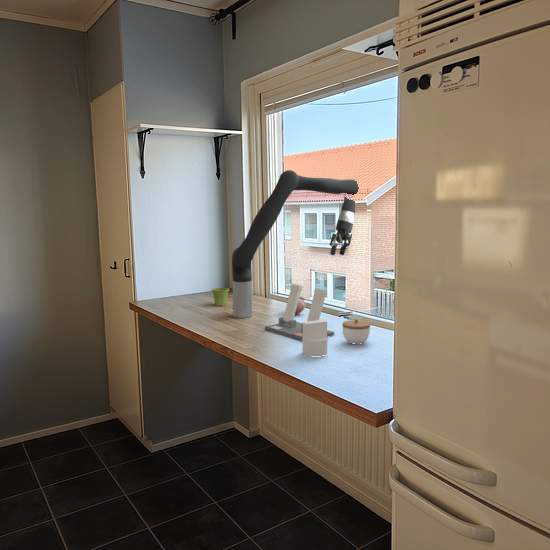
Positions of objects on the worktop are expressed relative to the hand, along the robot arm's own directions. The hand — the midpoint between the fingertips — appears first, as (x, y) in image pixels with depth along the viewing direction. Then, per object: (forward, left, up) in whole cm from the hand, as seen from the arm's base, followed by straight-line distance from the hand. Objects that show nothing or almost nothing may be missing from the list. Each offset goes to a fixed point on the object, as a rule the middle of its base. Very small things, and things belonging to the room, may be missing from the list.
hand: (336, 254), depth 246 cm
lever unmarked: (-25, -20, -27) cm, 42 cm away
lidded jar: (+1, -44, -30) cm, 53 cm away
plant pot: (-56, +33, -30) cm, 72 cm away
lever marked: (-16, -33, -27) cm, 45 cm away
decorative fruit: (-18, +8, -30) cm, 36 cm away
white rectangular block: (-17, -58, -30) cm, 67 cm away
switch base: (-20, -27, -30) cm, 45 cm away
